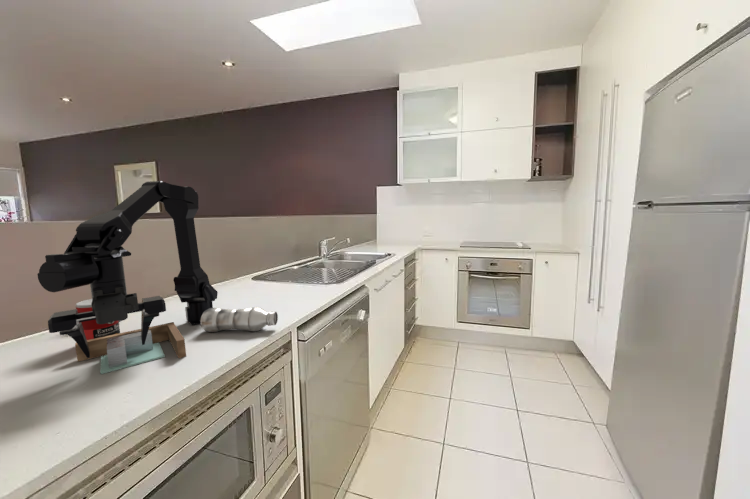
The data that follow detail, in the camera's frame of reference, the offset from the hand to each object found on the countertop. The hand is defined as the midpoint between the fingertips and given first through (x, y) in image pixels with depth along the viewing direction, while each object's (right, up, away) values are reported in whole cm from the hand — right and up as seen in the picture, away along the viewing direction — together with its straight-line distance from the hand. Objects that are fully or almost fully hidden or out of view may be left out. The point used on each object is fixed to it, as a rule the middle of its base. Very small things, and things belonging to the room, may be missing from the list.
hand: (117, 350), depth 68 cm
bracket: (+1, -2, +3) cm, 4 cm away
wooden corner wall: (+1, -3, +3) cm, 4 cm away
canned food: (-14, -2, +12) cm, 19 cm away
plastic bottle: (+9, +2, +18) cm, 20 cm away
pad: (+1, -3, +3) cm, 4 cm away
